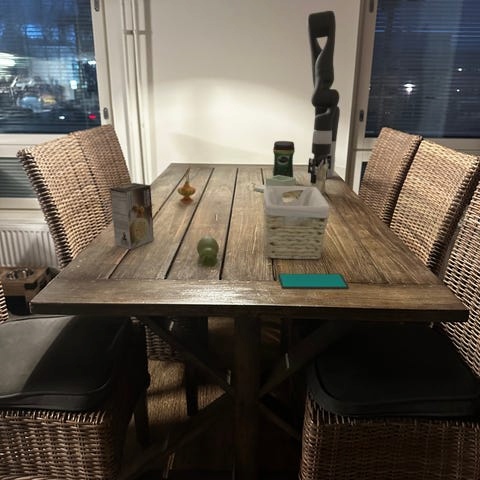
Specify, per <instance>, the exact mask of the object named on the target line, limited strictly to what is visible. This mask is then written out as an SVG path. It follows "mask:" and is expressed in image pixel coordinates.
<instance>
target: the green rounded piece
mask: <svg viewBox="0 0 480 480" xmlns="http://www.w3.org/2000/svg"><path fill="white" fill-rule="evenodd" d="M196 244H197V245H196V252H197V254H198V257H199V260H198V261H199V264H200V266H202V267H214V266H216V264H218V254H219V248H220V247H219V243H218V241H217V240H216V239H215V238H213V237H211V236H204V237H201V239H200V240H198V242H197V243H196Z"/></svg>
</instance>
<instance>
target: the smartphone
mask: <svg viewBox="0 0 480 480" xmlns="http://www.w3.org/2000/svg"><path fill="white" fill-rule="evenodd" d="M277 277H278V280H279V283H280V286H281V289H282V290H349V288H350V286H349V285H348V283H347V282H346V280H345V278H344V276H343V275H342V274H341V273H278V276H277Z"/></svg>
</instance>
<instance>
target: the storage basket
mask: <svg viewBox="0 0 480 480" xmlns="http://www.w3.org/2000/svg"><path fill="white" fill-rule="evenodd" d="M298 186H299V185H296V186H267V187H265V188H264V192H263V194H262V195H263V196H262V198H263V205H264V212H263V213H264V215H263V218H264V224H263V225H264V228H263V245H264V249H265V253H266V254H265V255H266V257H267V258H270V259H279V260H280V259H286V260H290V259H294V260H319V259H320V258H321V256H322V251H323V246H324V239H325V234H326V228H327V225H328V221H329V216H330V205H329V203H328V202H327V200H326V199H325V198H324V196H323V194H321V193H320V191H319V190H318V189H317V188H316V187H312V186H301V187H298ZM283 196H286V197H294V198H297V199H294V200H290V201H287V202H286V201H285V202H284V199H283V198H284V197H283Z"/></svg>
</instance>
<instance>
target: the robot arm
mask: <svg viewBox="0 0 480 480" xmlns="http://www.w3.org/2000/svg"><path fill="white" fill-rule="evenodd" d="M336 23H337V22H336V15H335V12H334V11H332V10H325V11H319V12H314V13H309V14H308V15H307V18H306V28H307V37H308V41H309V42H308V43H309V48H310V58H311V59H310V60H311V73H312V74H311V75H312V76H311V77H312V82H313V83H312V84H313V85H312V86H313V90H312V91H313V92H312V94H311V99H310V100H311V102H310V103H311V104H312V106H313V107H314V123H313V124H314V125H313V133H312V138H311V139H312V142H311V143H312V144H311V154H313V157H309V158H308V165H307V173H308V174H309V175H310V184H311V185H312V184H315V183H316V176H317V175H316V174H317V172H318V170H320V167H321V165H323V164H327V169H326V180H325V182H326V181H327V180H328V179H331V178H333V177H334V173H335V166H336V163H335V162H336V148H337V138H338V131H339V130H338V128H339V122H340V115H341V113H340V111H341V110H340V106H338V104H339V102H340V93H339V91H338V90H337V89H334V88H332V86H333V84H334V82H335V67H334V56H335V55H334V53H335V47H336V46H335V44H336V33H337V32H336V30H337V29H336V25H337V24H336ZM321 38H326V42H325V44H324V46H323V48H321V45H320V43H319V40H318V39H321Z"/></svg>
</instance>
